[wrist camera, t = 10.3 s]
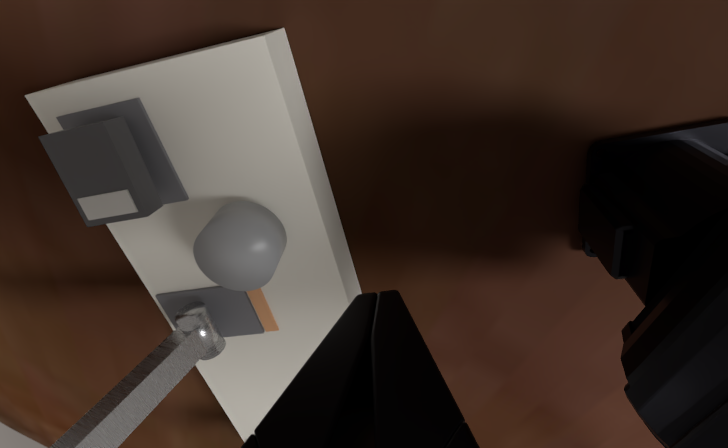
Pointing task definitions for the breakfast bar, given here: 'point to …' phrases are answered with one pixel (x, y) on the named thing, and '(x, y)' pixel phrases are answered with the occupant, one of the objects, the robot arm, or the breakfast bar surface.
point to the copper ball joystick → (148, 382)
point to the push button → (240, 246)
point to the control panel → (226, 202)
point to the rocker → (103, 171)
